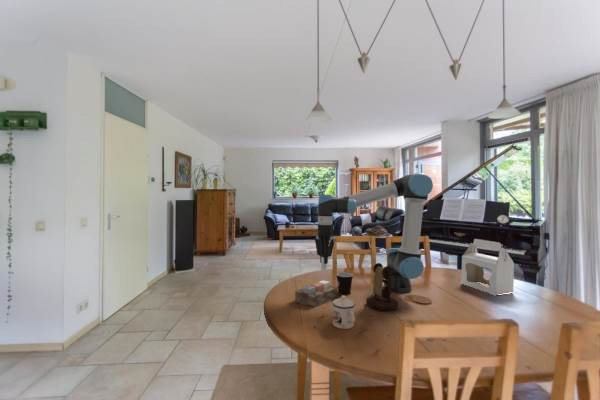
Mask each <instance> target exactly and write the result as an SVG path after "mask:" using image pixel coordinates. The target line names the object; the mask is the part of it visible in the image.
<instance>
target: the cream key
mask: <svg viewBox="0 0 600 400" xmlns="http://www.w3.org/2000/svg"><path fill="white" fill-rule="evenodd" d="M317 283H319V284H323V289H326V288H329V287H330V286H331V281H327V280H320V281H318V282H317Z"/></svg>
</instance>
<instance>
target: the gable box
mask: <svg viewBox="0 0 600 400" xmlns="http://www.w3.org/2000/svg"><path fill="white" fill-rule="evenodd" d="M503 246H504V244H502V243H501V242H499V241H493V240H492V241H491V240H486V239H480V238H474V239H473V243H472V242H470V244H469V246H468V248H467V249H466V250H465V251H464V252H463V254H462V255H461V285H462V284H464V285H463V286H465V285H467V286H466V287H468V286H470V287H473V288H476V289H479V290H482V291H485V292H488V293H492V294H494V295H498V294H503V293H509V292H513V293H514V281H515V278H514V275H515V262H514V261H513V259H512V257H511V256H510V254H509V253H508V251H507V249H505V248H503ZM478 248H482V249H488V250H493V251H497V252H498V256H493V255H487V254H485V253H479V252H478ZM485 268H486V269H489V270H490V272H491V274H490V276H489V279H485V277H484V274H485V271H484V269H485ZM477 282H481V283H484V284H488V285H489V287H485V286H483V285H481V284H480V283H477ZM470 287H469V288H470ZM473 288H472V289H473ZM476 289H475V290H476ZM479 290H478V291H479ZM482 291H481V292H482ZM485 292H484V293H485ZM488 293H487V294H488Z"/></svg>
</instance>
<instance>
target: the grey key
mask: <svg viewBox="0 0 600 400" xmlns="http://www.w3.org/2000/svg"><path fill="white" fill-rule="evenodd" d="M302 289H303V293H306V294H309V295H310V294H313V293H315V287H313V286H311V284H310V285H305V286H303V287H302Z"/></svg>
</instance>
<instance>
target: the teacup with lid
mask: <svg viewBox="0 0 600 400" xmlns="http://www.w3.org/2000/svg"><path fill="white" fill-rule="evenodd" d="M331 304H332V325H333V326H334V327H336V328H337V329H340V330H341V329H342V330H348V329H351V328H353V327H354V325H355V321H356V319H355V318H356V316H355V306H356V304H355V302H354V301H353V300H352V299H349V298H347V295H341V296H340V297H339V298H335V299H333V300H332V303H331Z"/></svg>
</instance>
